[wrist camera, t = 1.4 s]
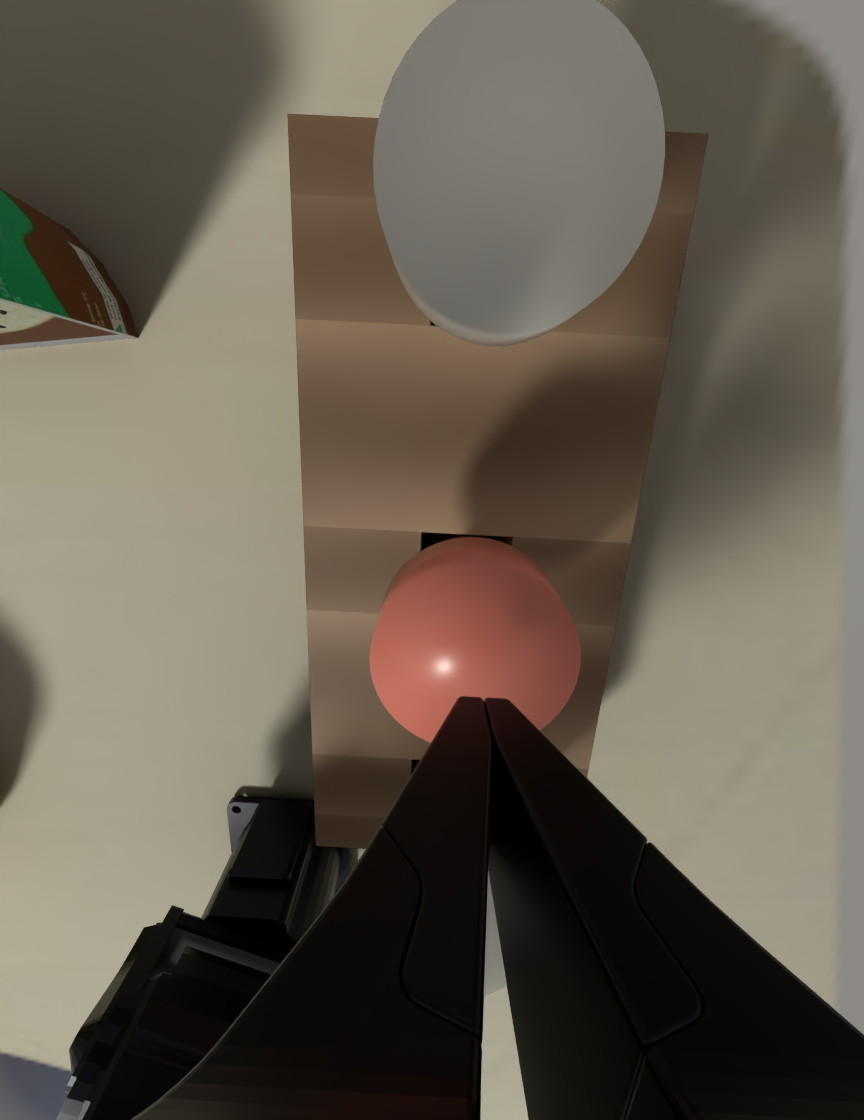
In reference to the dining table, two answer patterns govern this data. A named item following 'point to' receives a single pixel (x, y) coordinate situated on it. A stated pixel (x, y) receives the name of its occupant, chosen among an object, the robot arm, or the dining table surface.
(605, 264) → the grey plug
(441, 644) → the salmon round-head knob
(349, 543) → the walnut plug block
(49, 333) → the food container
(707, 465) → the dining table surface
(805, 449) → the dining table surface
